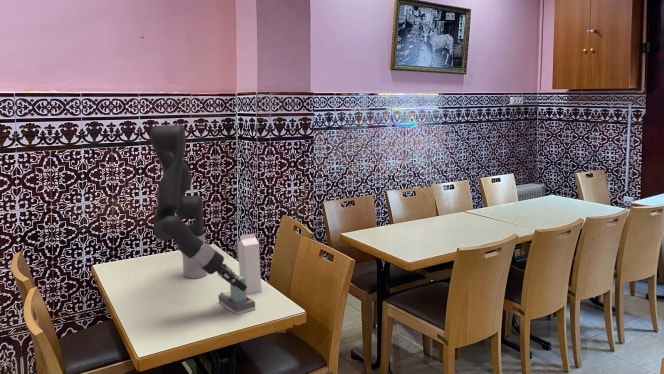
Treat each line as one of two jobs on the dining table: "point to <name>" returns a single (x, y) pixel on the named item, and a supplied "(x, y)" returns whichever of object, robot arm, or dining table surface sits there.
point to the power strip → (236, 308)
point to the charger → (238, 292)
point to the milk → (250, 262)
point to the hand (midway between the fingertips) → (242, 285)
